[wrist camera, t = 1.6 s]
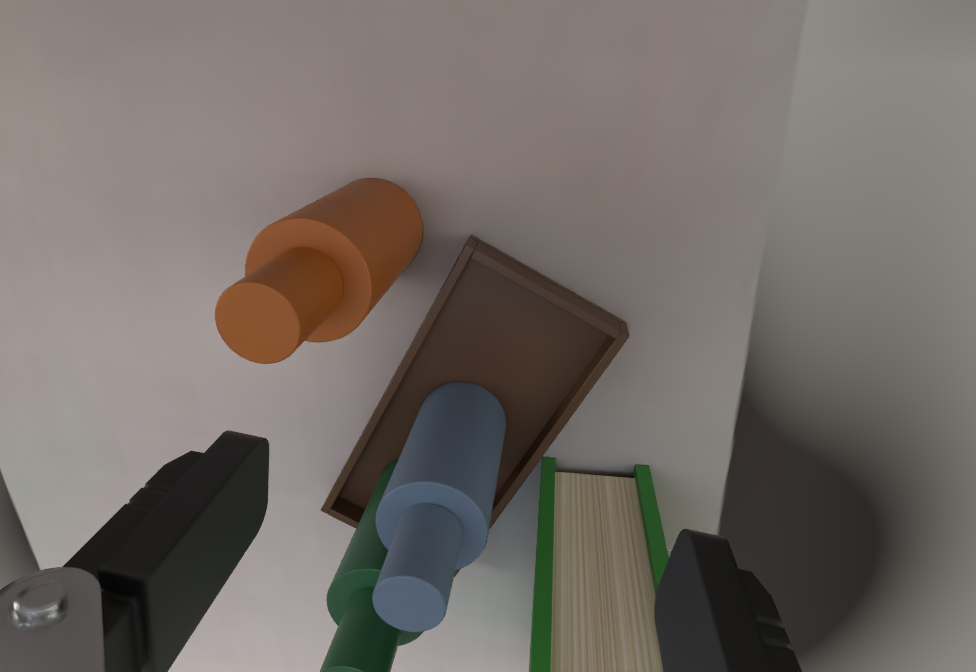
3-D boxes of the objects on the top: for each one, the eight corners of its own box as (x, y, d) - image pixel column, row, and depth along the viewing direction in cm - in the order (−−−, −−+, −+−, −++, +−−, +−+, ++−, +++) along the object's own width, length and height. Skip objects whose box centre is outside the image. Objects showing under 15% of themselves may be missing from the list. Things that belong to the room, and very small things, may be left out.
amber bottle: (315, 243, 39) (163, 347, 24) (351, 159, 36) (207, 217, 22) (398, 289, 39) (300, 418, 25) (439, 209, 37) (357, 299, 22)
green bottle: (367, 497, 46) (273, 698, 31) (400, 441, 43) (316, 629, 29) (437, 533, 46) (378, 746, 32) (473, 479, 44) (428, 683, 29)
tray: (330, 491, 46) (320, 510, 44) (471, 234, 37) (465, 243, 35) (458, 556, 48) (454, 577, 46) (626, 322, 38) (629, 336, 36)
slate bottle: (406, 430, 43) (324, 616, 28) (444, 366, 40) (376, 531, 26) (480, 470, 43) (437, 671, 29) (522, 408, 41) (498, 593, 26)
